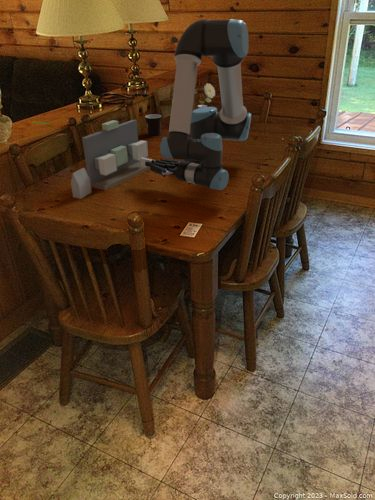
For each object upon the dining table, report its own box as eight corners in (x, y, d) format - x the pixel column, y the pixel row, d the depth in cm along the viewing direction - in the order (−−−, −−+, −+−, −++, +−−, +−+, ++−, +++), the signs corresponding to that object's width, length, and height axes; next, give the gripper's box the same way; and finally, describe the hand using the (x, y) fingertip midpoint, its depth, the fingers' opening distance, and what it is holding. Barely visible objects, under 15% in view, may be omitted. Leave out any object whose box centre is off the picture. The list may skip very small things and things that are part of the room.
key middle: (128, 161, 183) (126, 146, 179) (117, 166, 178) (115, 151, 175) (113, 158, 187) (111, 143, 184) (102, 162, 182) (100, 147, 179)
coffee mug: (160, 137, 230) (159, 118, 225) (144, 136, 232) (143, 118, 226) (165, 131, 240) (164, 113, 234) (150, 130, 241) (149, 112, 236)
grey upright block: (91, 192, 171) (88, 168, 165) (80, 198, 166) (76, 174, 160) (84, 190, 172) (80, 166, 167) (73, 197, 167) (69, 172, 162)
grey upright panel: (152, 167, 192) (148, 116, 181) (105, 190, 171) (98, 134, 160) (125, 161, 200) (120, 111, 188) (77, 182, 179) (68, 128, 168)
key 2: (148, 156, 188) (147, 141, 185) (138, 160, 184) (137, 145, 180) (133, 152, 193) (131, 138, 189) (123, 156, 188) (122, 142, 185)
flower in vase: (198, 135, 231) (198, 86, 218) (188, 130, 240) (187, 83, 227) (219, 132, 236) (220, 84, 223) (208, 127, 245) (209, 80, 232)
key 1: (116, 170, 174) (115, 154, 171) (105, 175, 170) (103, 159, 167) (101, 166, 179) (99, 151, 175) (90, 171, 174) (88, 155, 171)
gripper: (179, 187, 159) (131, 174, 171) (199, 176, 169) (152, 164, 180) (179, 168, 156) (129, 156, 167) (199, 157, 165) (151, 147, 176)
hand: (141, 160), depth 174 cm, fingers closed
